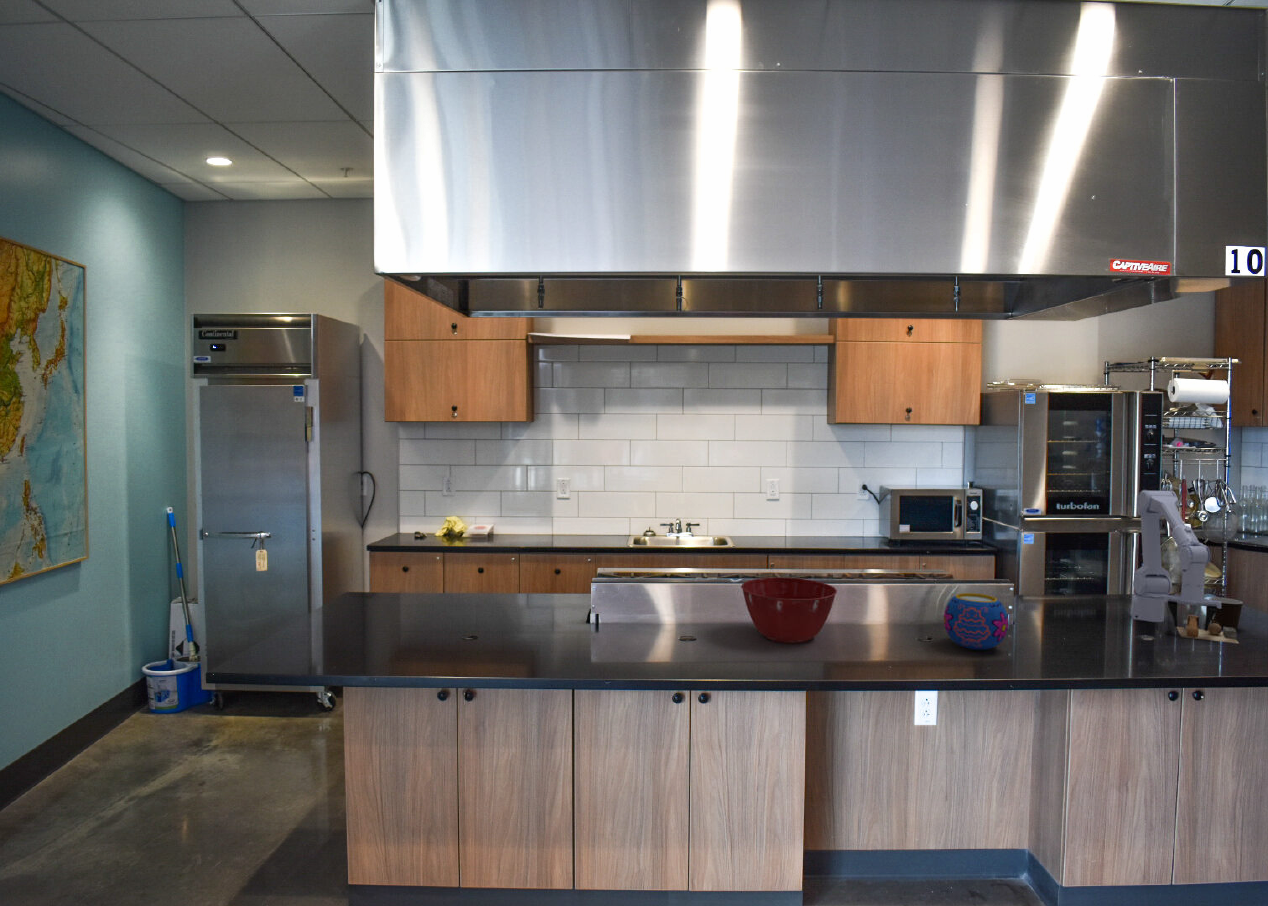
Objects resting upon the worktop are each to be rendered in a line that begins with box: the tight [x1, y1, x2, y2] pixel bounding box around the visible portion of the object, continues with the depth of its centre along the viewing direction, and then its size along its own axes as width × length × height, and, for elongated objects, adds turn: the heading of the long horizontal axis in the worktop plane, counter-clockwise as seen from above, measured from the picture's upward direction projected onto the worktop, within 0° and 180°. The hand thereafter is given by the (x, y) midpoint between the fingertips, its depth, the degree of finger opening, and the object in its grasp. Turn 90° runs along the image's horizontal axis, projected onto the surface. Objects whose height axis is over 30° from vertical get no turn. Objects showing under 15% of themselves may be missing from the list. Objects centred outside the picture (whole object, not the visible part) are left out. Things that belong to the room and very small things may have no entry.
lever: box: [1183, 614, 1200, 637], centre depth 256 cm, size 14×3×6 cm, turn 149°
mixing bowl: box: [740, 577, 838, 644], centre depth 248 cm, size 28×28×15 cm
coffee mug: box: [1208, 597, 1243, 631], centre depth 263 cm, size 12×9×10 cm
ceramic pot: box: [943, 592, 1010, 651], centre depth 240 cm, size 18×18×15 cm
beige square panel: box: [1176, 624, 1240, 644], centre depth 254 cm, size 14×14×3 cm
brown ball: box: [1208, 623, 1223, 635], centre depth 254 cm, size 4×4×4 cm
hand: (1190, 628), depth 251 cm, fingers open, 7 cm apart
